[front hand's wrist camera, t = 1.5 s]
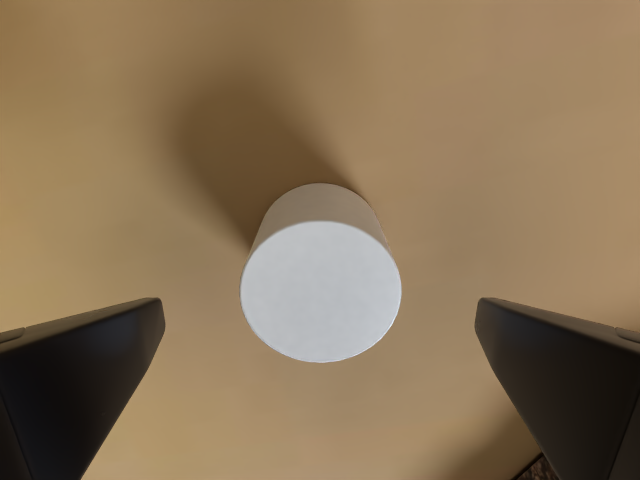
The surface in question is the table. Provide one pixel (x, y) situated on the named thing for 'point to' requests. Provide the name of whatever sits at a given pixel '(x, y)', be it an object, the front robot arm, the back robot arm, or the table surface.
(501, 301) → the front robot arm
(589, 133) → the table surface
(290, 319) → the canister
